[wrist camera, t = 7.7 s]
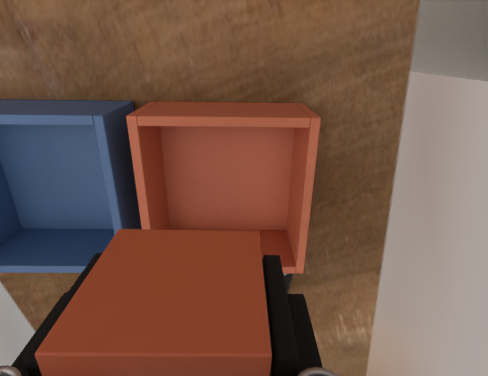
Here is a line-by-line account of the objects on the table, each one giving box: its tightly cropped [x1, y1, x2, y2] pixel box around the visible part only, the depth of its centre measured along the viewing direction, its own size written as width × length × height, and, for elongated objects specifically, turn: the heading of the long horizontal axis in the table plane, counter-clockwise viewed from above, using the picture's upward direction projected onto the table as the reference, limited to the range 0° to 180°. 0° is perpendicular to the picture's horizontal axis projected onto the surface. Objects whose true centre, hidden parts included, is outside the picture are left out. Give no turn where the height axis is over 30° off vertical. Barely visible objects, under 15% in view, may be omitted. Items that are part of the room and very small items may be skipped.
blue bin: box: [0, 99, 142, 273], centre depth 22 cm, size 11×11×6 cm
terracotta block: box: [35, 229, 272, 376], centre depth 9 cm, size 5×5×5 cm
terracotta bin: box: [126, 101, 321, 273], centre depth 23 cm, size 11×11×6 cm
